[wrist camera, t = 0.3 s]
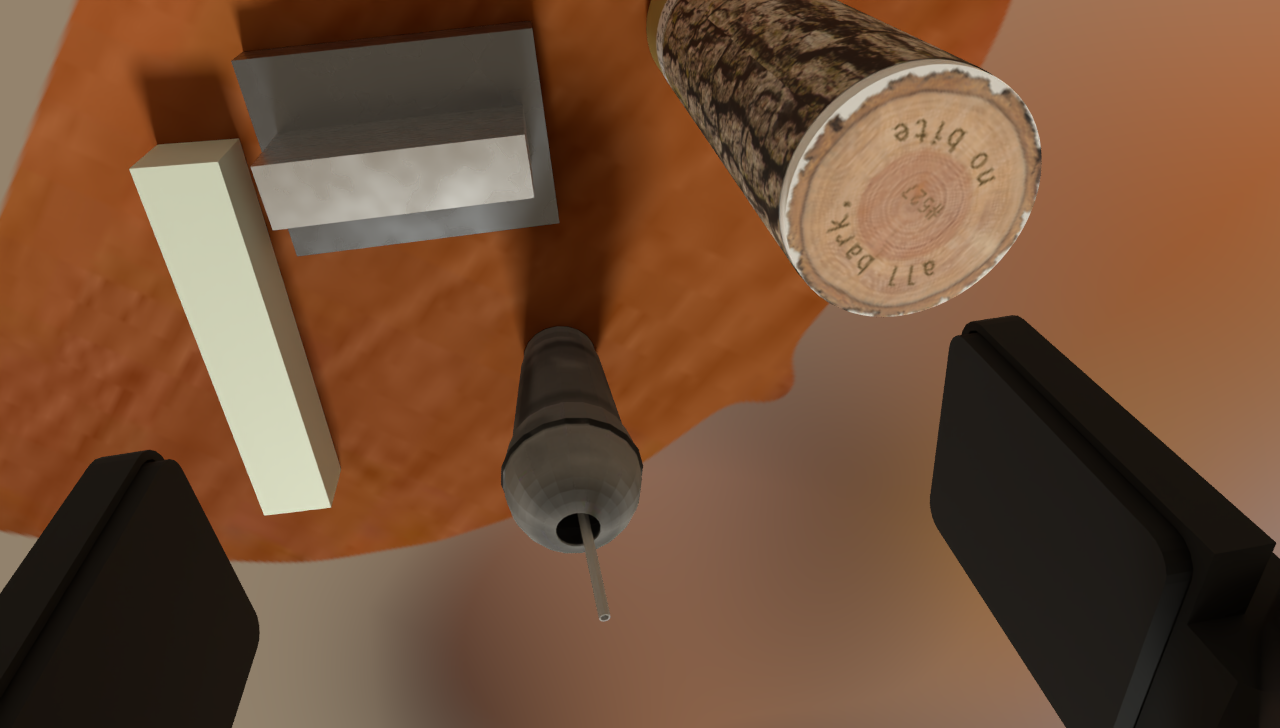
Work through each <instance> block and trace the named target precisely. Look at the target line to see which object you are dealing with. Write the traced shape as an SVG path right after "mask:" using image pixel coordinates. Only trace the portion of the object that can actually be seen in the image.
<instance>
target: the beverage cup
mask: <svg viewBox="0 0 1280 728" xmlns="http://www.w3.org/2000/svg"><path fill="white" fill-rule="evenodd" d="M642 469H643V464H642V460H641V457H640V453H639V449H638V448H637V447H636V445H635V444H634V443H633V441H632V439H631V437H630V435H629V434H628V432H627V430H626V429H625V427H624V426H623V425H622V423H621V420H620V417H619V414H618V411H617V408H616V405H615V403H614V400H613V397H612V394H611V391H610V388H609V385H608V382H607V380H606V377H605V374H604V371H603V368H602V365H601V362H600V359H599V357H598V355H597V353H596V351H595V349H594V346H593V343H592V342H591V341H590V339H589V338H588V337H587V336H586V335H585V334H583V333H582V332H581V331H579V330H577V329H574V328H570V327H561V326H556V327H552V328H548V329H545V330H543V331H541V332H539V333H538V334H536V335H535V336H534V337H533V338H532V339H531V340H530V341H529V342H528V345H527V347H526V349H525V352H524V360H523V363H522V366H521V374H520V382H519V390H518V398H517V406H516V414H515V422H514V430H513V437H512V439H511V442H510V444H509V447H508V450H507V454H506V457H505V460H504V462H503V465H502V467H501V485H502V488H503V490H504V493H505V497H506V500H507V503H508V506H509V508H510V511H511V513H512V516H513V518H514V520H515V521H516V523H517V524H518V526H519V527H520V528H521V529H522V530H523V531H524V532H525V533H526V534H527V535H528V536H529V537H530V538H531V539H532V540H533V541H535V542H537V543H539V544H541V545H543V546H544V547H546V548H548V549H550V550H554V551H559V552H563V553H583V552H585V553H586V558H587V563H588V568H589V572H590V577H591V582H592V587H593V592H594V597H595V601H596V606H597V611H598V616H599V619H600V621H607V620H609V619H610V613H609V608H608V603H607V599H606V594H605V589H604V585H603V580H602V575H601V571H600V567H599V562H598V557H597V552H596V549H597V548H599V547H601V546H603V545H605V544H607V543H609V542H610V541H612V540H613V539H614V538H615V537H616V536H617V535H618V534H619V533H621V532H622V531H623V530H624V528H626V526H627V525H628V523H629V521H630V519H631V518H632V516H633V514H634V512H635V511H636V508H637V506H638V503H639V497H640V488H641V481H642V477H641V476H642Z"/></svg>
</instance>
